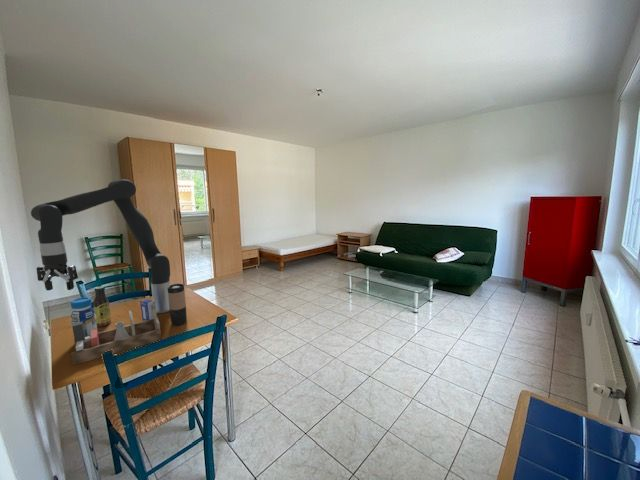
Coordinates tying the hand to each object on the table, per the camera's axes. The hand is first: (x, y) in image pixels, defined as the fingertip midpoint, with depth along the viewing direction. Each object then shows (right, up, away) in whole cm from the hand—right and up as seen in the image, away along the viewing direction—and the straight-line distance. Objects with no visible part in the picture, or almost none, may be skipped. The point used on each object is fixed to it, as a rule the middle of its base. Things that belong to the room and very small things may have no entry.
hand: (60, 289), depth 114 cm
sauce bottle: (-1, -23, +24) cm, 33 cm away
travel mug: (+37, -22, +26) cm, 51 cm away
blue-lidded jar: (+4, -25, +9) cm, 27 cm away
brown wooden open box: (+21, -26, +6) cm, 34 cm away
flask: (+22, -26, +7) cm, 35 cm away
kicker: (+13, -26, -1) cm, 29 cm away
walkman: (+22, -22, +27) cm, 41 cm away
